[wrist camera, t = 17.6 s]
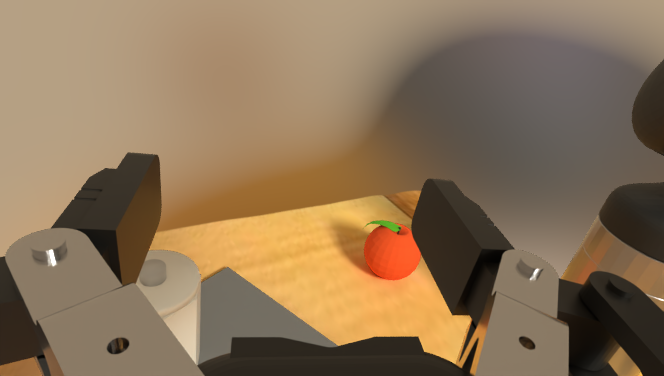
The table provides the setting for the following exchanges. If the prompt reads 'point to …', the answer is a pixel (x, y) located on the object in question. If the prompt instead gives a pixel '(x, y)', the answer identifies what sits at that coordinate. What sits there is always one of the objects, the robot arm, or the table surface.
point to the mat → (245, 316)
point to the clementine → (391, 251)
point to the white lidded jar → (174, 295)
